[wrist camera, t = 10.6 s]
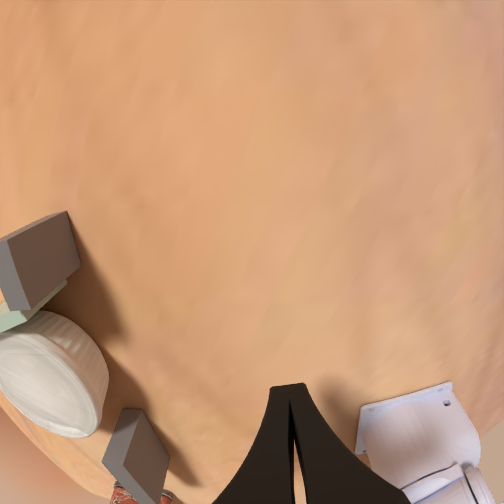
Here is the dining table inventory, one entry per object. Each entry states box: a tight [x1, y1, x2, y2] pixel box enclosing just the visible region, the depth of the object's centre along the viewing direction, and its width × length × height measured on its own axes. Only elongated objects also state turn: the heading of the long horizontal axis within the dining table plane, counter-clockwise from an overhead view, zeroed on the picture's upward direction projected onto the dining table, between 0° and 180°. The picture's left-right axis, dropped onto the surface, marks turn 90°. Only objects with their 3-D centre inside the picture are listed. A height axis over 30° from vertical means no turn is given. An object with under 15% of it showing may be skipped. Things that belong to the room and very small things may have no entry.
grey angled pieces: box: [0, 211, 170, 504], centre depth 20 cm, size 2×26×6 cm, turn 8°
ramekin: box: [0, 310, 109, 438], centre depth 21 cm, size 11×11×5 cm
